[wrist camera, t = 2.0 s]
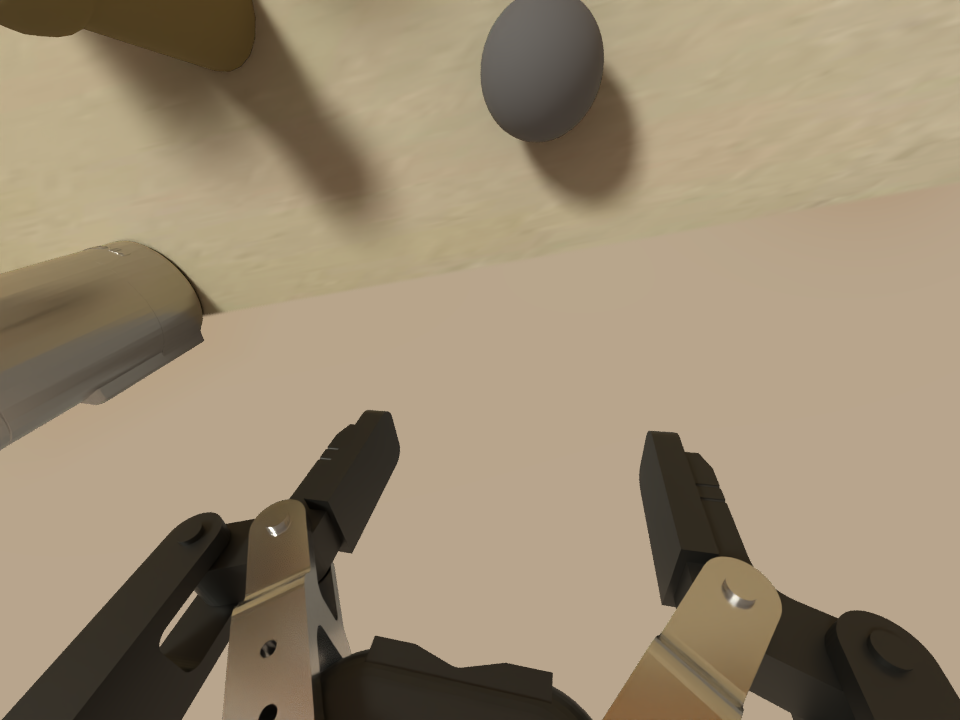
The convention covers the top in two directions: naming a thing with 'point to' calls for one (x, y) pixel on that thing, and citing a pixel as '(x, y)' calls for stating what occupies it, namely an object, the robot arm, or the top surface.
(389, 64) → the top surface
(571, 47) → the gray ball
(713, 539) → the robot arm
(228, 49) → the cork
